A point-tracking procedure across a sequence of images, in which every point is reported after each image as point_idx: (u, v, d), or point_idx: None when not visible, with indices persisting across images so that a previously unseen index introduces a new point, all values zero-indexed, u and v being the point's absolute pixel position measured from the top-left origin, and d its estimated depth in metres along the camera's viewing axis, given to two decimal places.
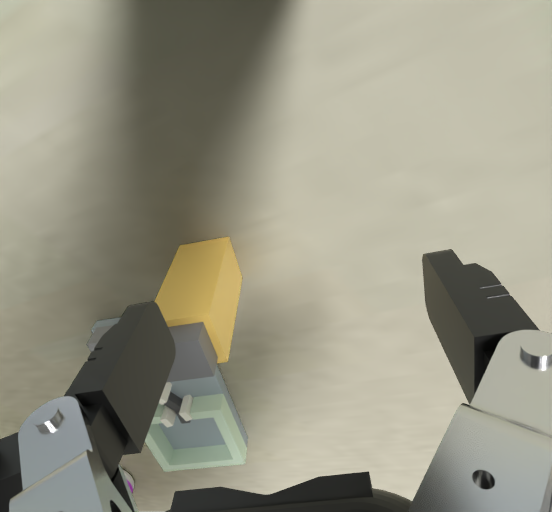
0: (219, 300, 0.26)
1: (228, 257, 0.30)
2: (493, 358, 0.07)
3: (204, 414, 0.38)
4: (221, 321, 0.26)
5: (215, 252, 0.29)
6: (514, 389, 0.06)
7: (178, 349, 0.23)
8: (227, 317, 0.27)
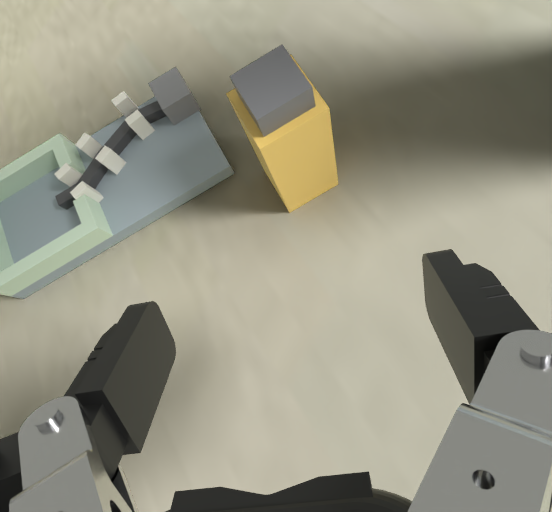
0: (317, 142, 0.22)
1: (327, 178, 0.27)
2: (493, 358, 0.07)
3: (85, 211, 0.29)
4: (300, 142, 0.22)
5: None
6: (514, 389, 0.06)
7: (289, 73, 0.19)
8: (292, 160, 0.23)
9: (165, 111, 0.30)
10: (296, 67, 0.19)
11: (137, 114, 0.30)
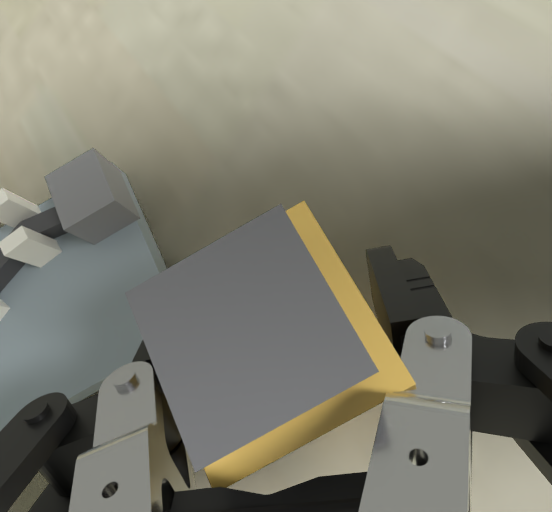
0: None
1: None
2: (404, 347, 0.08)
3: None
4: None
5: None
6: (411, 366, 0.07)
7: (301, 306, 0.06)
8: None
9: (70, 231, 0.16)
10: (325, 290, 0.06)
11: (20, 235, 0.16)
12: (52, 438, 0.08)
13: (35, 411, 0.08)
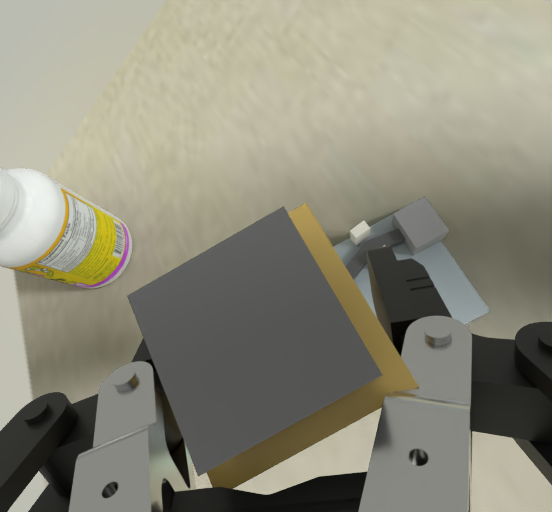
0: None
1: None
2: (404, 347, 0.08)
3: None
4: None
5: None
6: (410, 366, 0.07)
7: (305, 309, 0.06)
8: None
9: (417, 248, 0.27)
10: (328, 293, 0.06)
11: None
12: (52, 438, 0.08)
13: (35, 411, 0.08)
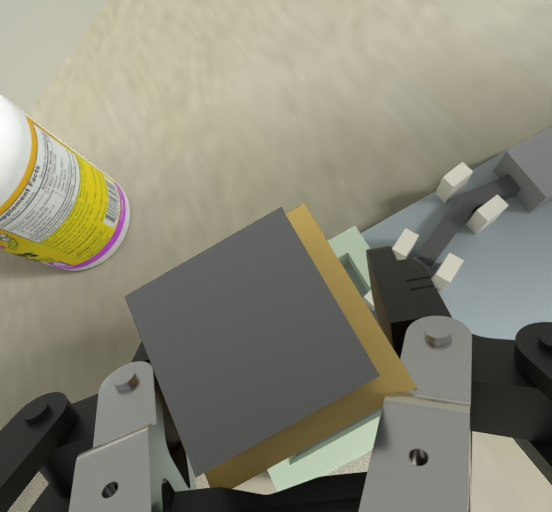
0: None
1: None
2: (404, 347, 0.08)
3: None
4: None
5: None
6: (411, 366, 0.07)
7: (302, 310, 0.06)
8: None
9: (546, 198, 0.18)
10: (325, 293, 0.06)
11: (499, 202, 0.19)
12: (52, 438, 0.08)
13: (35, 411, 0.08)
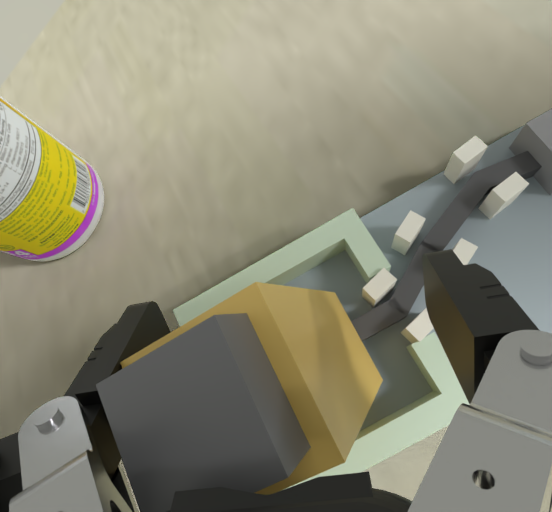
0: None
1: None
2: (493, 358, 0.07)
3: (444, 368, 0.15)
4: None
5: (367, 371, 0.14)
6: (514, 389, 0.06)
7: (229, 411, 0.07)
8: None
9: None
10: (247, 400, 0.07)
11: (518, 181, 0.16)
12: None
13: None
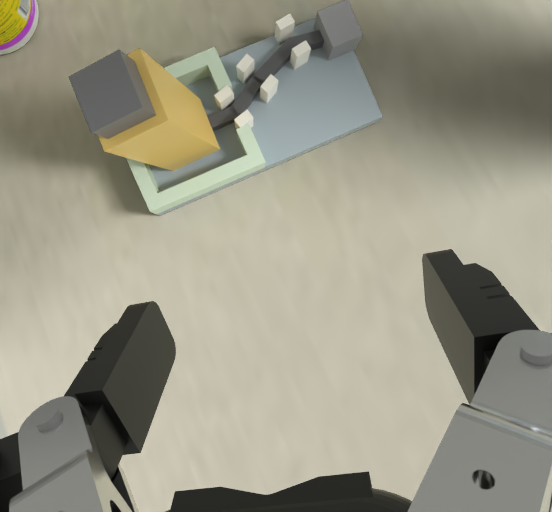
0: (172, 136, 0.24)
1: (203, 149, 0.28)
2: (493, 358, 0.07)
3: (250, 142, 0.29)
4: (150, 140, 0.23)
5: (207, 134, 0.28)
6: (514, 389, 0.06)
7: (123, 86, 0.20)
8: (149, 149, 0.24)
9: (333, 48, 0.30)
10: (130, 81, 0.20)
11: (306, 46, 0.29)
12: None
13: None
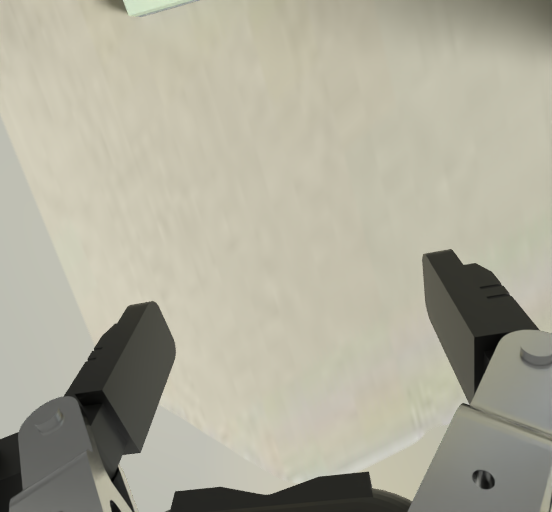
0: None
1: None
2: (493, 358, 0.07)
3: None
4: None
5: None
6: (514, 389, 0.06)
7: None
8: None
9: None
10: None
11: None
12: None
13: None
